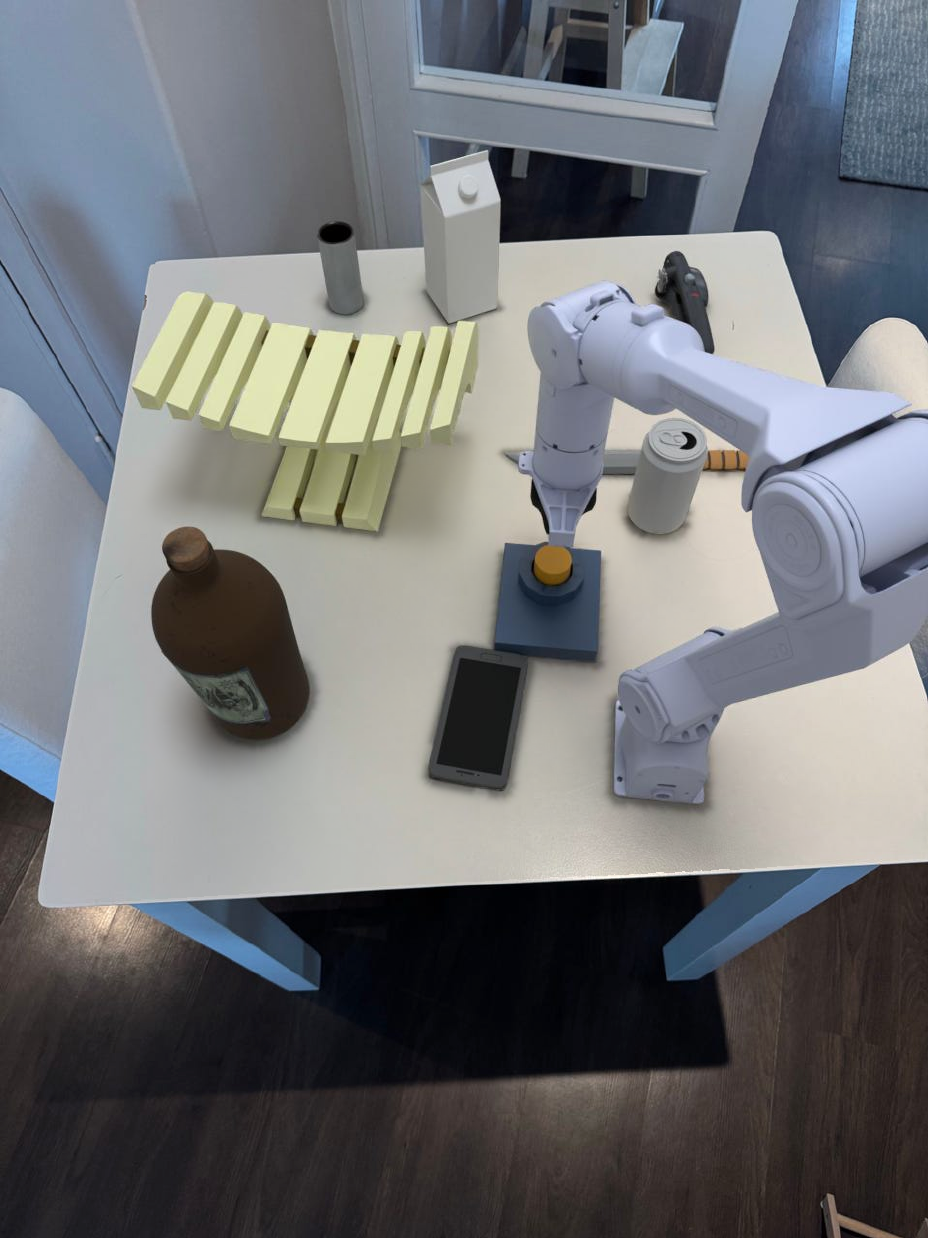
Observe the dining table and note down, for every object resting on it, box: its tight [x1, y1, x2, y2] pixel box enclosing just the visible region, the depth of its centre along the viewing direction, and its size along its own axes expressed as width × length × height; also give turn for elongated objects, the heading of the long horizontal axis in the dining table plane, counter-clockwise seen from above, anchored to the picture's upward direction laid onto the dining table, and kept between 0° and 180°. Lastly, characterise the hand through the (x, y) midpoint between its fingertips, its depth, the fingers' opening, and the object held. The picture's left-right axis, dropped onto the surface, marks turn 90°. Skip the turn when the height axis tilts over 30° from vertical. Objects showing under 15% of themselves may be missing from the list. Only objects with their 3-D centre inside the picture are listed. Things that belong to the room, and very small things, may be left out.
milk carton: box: [419, 149, 501, 324], centre depth 102 cm, size 7×7×19 cm
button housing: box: [493, 541, 602, 663], centre depth 84 cm, size 12×10×4 cm
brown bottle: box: [150, 526, 310, 740], centre depth 70 cm, size 11×11×25 cm
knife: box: [504, 449, 749, 475], centre depth 95 cm, size 30×1×5 cm
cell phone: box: [428, 644, 529, 791], centre depth 79 cm, size 7×14×1 cm, turn 169°
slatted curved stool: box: [131, 291, 479, 533], centre depth 88 cm, size 30×16×18 cm, turn 80°
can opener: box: [654, 250, 716, 355], centre depth 104 cm, size 18×7×6 cm, turn 3°
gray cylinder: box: [316, 220, 365, 315], centre depth 105 cm, size 4×4×10 cm
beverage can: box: [627, 417, 709, 535], centre depth 86 cm, size 6×6×12 cm
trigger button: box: [534, 545, 572, 586], centre depth 83 cm, size 4×4×2 cm
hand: (557, 529), depth 78 cm, fingers closed
